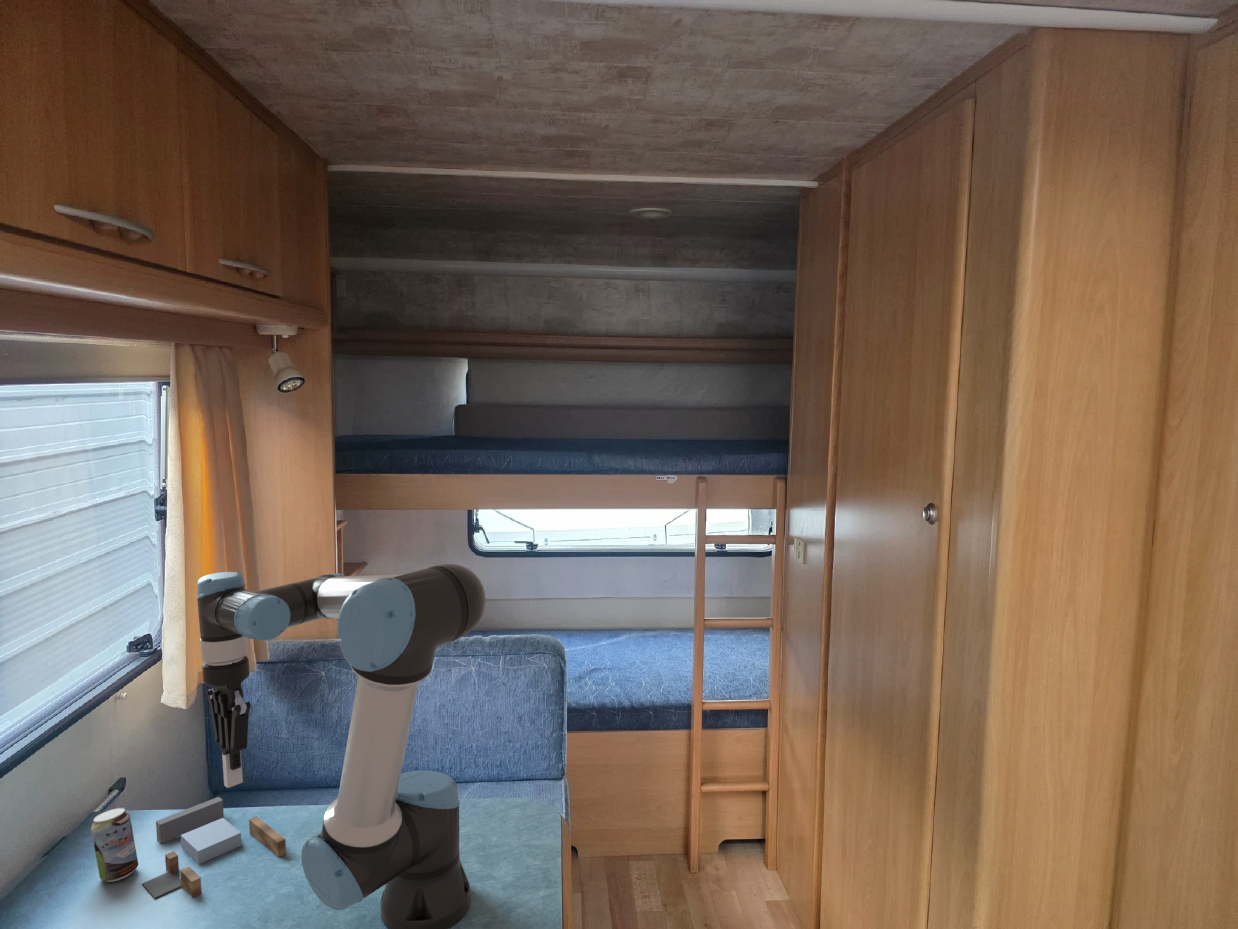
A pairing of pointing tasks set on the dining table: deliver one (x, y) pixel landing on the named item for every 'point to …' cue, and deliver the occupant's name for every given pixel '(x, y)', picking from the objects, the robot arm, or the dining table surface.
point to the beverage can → (114, 845)
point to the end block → (189, 820)
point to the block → (210, 840)
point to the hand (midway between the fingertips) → (233, 783)
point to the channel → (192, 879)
